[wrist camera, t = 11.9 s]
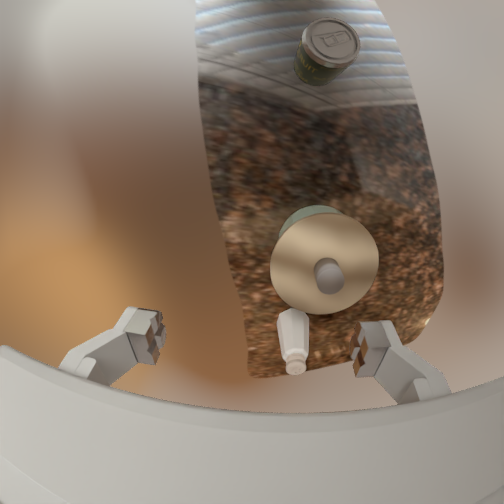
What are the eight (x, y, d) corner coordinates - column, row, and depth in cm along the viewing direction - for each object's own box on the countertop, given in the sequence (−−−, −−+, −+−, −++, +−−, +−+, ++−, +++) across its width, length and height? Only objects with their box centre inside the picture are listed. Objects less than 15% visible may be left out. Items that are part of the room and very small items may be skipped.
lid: (273, 208, 29) (273, 219, 26) (385, 217, 29) (399, 229, 25) (267, 307, 35) (266, 327, 31) (363, 310, 34) (371, 329, 30)
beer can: (322, 45, 26) (343, 9, 16) (342, 78, 28) (373, 56, 17) (285, 58, 28) (291, 25, 17) (305, 92, 30) (322, 73, 19)
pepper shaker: (315, 316, 43) (324, 366, 33) (295, 336, 45) (298, 386, 36) (289, 301, 42) (292, 351, 32) (270, 323, 45) (268, 373, 35)
